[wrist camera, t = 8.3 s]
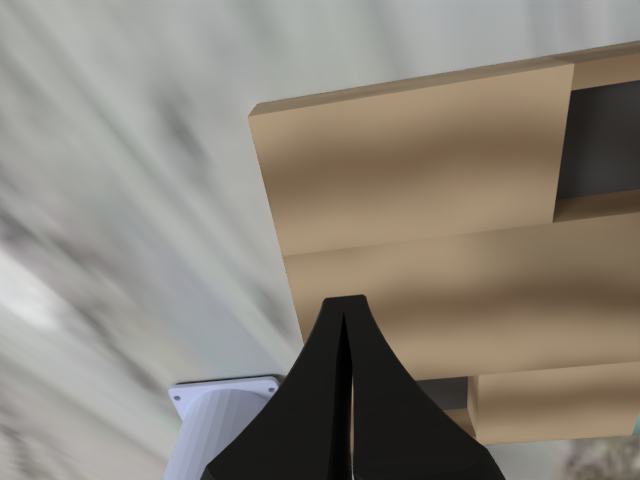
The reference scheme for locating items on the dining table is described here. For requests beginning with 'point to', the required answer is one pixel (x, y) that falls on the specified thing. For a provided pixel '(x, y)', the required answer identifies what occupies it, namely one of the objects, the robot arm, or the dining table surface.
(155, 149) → the dining table surface
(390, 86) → the track
